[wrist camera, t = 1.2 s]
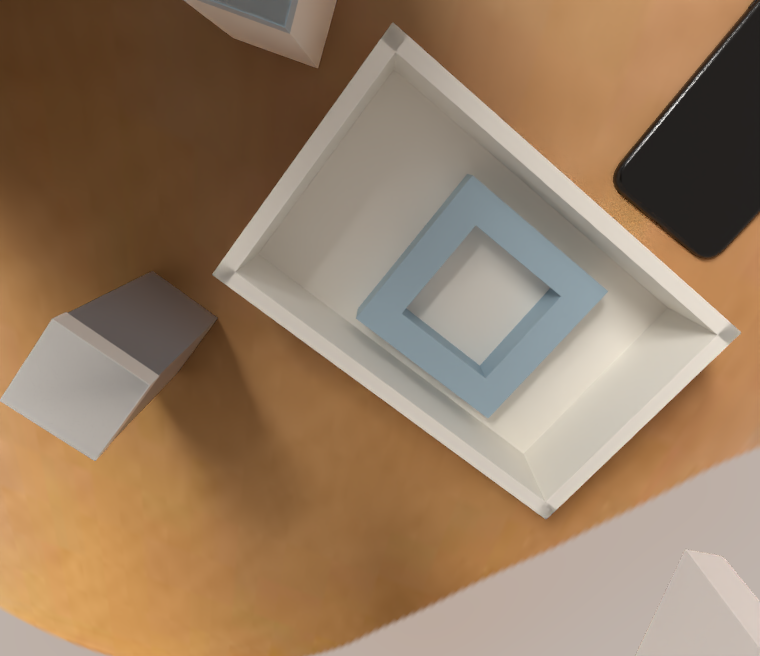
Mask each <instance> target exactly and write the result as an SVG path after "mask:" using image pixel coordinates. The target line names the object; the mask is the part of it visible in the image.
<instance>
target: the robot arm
mask: <svg viewBox="0 0 760 656" xmlns="http://www.w3.org/2000/svg"><path fill="white" fill-rule="evenodd" d="M635 656H760V601H759V600H758V598H757V597H756V596H755V595H754V594H753V592H752V591H751V590H750V589H749V588H748V586H747V585H746V584H745V583H744V581H743V580H742V579H741V578H740V577H739V575H738V574H737V573H736V572H735V570H734V569H733V568H732V567H731V566H730V565H729V563H728V562H727V561H726V560H725V558H724V557H723V556H720V555H714V554H709V553H703V552H698V551H693V550H687V549H685V550H684V553H683V555H682V557H681V559H680V561H679V563H678V566H677V568H676V570H675V572H674V574H673V576H672V578H671V580H670V583H669V585H668V587H667V589H666V591H665V593H664V595H663V597H662V599H661V602H660V604H659V606H658V608H657V610H656V612H655V614H654V617H653V619H652V621H651V623H650V625H649V627H648V629H647V631H646V633H645V636H644V638H643V640H642V642H641V644H640V646H639V648H638V650H637V653H636V655H635Z"/></svg>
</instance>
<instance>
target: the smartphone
mask: <svg viewBox="0 0 760 656" xmlns="http://www.w3.org/2000/svg"><path fill="white" fill-rule="evenodd" d="M613 183H614V186H615V188H616V189H617V191H618V192H619V193H620V194H621V195H622V196H623V197H625V198H626V199H627V200H628V201H629V202H631V203H632V204H633V205H634V206H636V207H637V208H638V209H639V210H640V211H642V212H643V213H644V214H645V215H646V216H648V217H649V218H650V219H651V220H654V221H655V222H657V223H658V224H659V225H660V226H661V227H662V229H663V230H664V231H666V232H667V233H668V234H669V235H670V236H672V237H673V238H675V240H677V241H678V242H679V243H681V245H683V246H684V247H685V248H687V250H690V252H691V253H692V254H694V255H696V256H698V257H701V258H711V257H714V256H716V255H718V254H719V253H721V252H722V251H723V250H724V249H725V248H726V247H727V246H728V245H729V244H730V243H731V242H732V241H733V240H734V239H735V238H736V237H737V235H738V234H739V233H740V232H741V231H742V230H743V229H744V228H745V227H746V226H747V225H748V224H749V223H750V222H751V220H752V219H753V218H754V217H755V216H756V215H757V214H758V213H759V212H760V0H754V1H753V2H752V3H751V4H750V6H749V7H748V9H747V10H746V11H745V13H744V14H743V15H742V16H741V17H740V19H739V20H738V21H737V22H736V23H735V25H734V26H733V27H732V28H731V29H730V31H729V32H728V33H727V34H726V35H725V37H724V38H723V39H722V40H721V41H720V43H719V44H718V45H717V46H716V47H715V49H714V50H713V51H712V52H711V53H710V55H709V56H708V57H707V58H706V59H705V61H704V62H703V63H702V64H701V65H700V67H699V68H698V69H697V70H696V71H695V73H694V74H693V75H692V76H691V77H690V79H689V80H688V81H687V82H686V83H685V85H684V86H683V87H682V88H681V90H680V91H679V92H678V93H677V94H676V96H675V97H674V98H673V99H672V100H671V102H670V103H669V104H668V105H667V106H666V108H665V109H664V110H663V111H662V112H661V114H660V115H659V116H658V117H657V118H656V120H655V121H654V122H653V123H652V124H651V126H650V127H649V128H648V129H647V130H646V132H645V133H644V134H643V135H642V136H641V138H640V139H639V140H638V141H637V142H636V144H635V145H634V146H633V147H632V149H631V150H630V151H629V152H628V153H627V155H626V156H625V157H624V158H623V159H622V161H621V162H620V163H619V165H618V166H617V168H616V170H615V172H614V176H613Z"/></svg>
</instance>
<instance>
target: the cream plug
mask: <svg viewBox="0 0 760 656" xmlns="http://www.w3.org/2000/svg"><path fill="white" fill-rule="evenodd" d="M184 1H185V2H186V3H188V4H189V5H190V6H192V7H193V8H194V9H195V10H197V11H198V12H199V13H201V14H202V15H203V16H205V17H206V18H207V19H209V20H210V21H211V22H213V23H214V24H215V25H217V26H218V27H219V28H220V29H222V30H223V31H224V32H226V33H227V34H228V35H230V36H231V37H232V38H234V39H237V40H240V41H242V42H245V43H248V44H251V45H253V46H256V47H259V48H262V49H265V50H267V51H270V52H273V53H276V54H278V55H281V56H284V57H287V58H290V59H292V60H295V61H298V62H301V63H303V64H306V65H309V66H312V67H315V68H317V69H318V67H319V64H320V60H321V56H322V53H323V49H324V45H325V42H326V38H327V34H328V31H329V27H330V24H331V20H332V16H333V13H334V9H335V5H336V2H337V0H184Z"/></svg>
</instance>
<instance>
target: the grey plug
mask: <svg viewBox="0 0 760 656" xmlns="http://www.w3.org/2000/svg"><path fill="white" fill-rule="evenodd" d="M216 320H217V317H216V316H215V315H213V314H212V313H210V312H209V311H208V310H206V309H205V308H203V307H202V306H201V305H199V304H198V303H196V302H195V301H194V300H192V299H191V298H189V297H188V296H187V295H185V294H184V293H183V292H181V291H180V290H178V289H177V288H176V287H174V286H173V285H171V284H170V283H169V282H167V281H166V280H164V279H163V278H162V277H160V276H159V275H157V274H156V273H155V272H153V271H151V272H149V273H147V274H145V275H143V276H141V277H139V278H137V279H135V280H133V281H131V282H129V283H127V284H125V285H123V286H121V287H119V288H117V289H115V290H113V291H111V292H109V293H107V294H105V295H103V296H101V297H99V298H97V299H95V300H93V301H91V302H89V303H87V304H85V305H83V306H81V307H79V308H77V309H75V310H73V311H71V312H69V313H67V312H65V313H63V314H61V315H59V316H57V317H55V318H53V319H52V320H51V321H50V323H49V324H48V326H47V328H46V329H45V331H44V332H43V334H42V335H41V337H40V338H39V340H38V342H37V343H36V345H35V346H34V348H33V349H32V351H31V352H30V354H29V356H28V357H27V359H26V360H25V362H24V363H23V365H22V366H21V368H20V370H19V371H18V373H17V374H16V376H15V377H14V379H13V380H12V382H11V384H10V385H9V387H8V388H7V390H6V391H5V393H4V394H3V396H2V398H1V399H0V401H1V402H2V403H4V404H6V405H7V406H9V407H10V408H12V409H13V410H15V411H17V412H18V413H20V414H21V415H23V416H24V417H26V418H28V419H29V420H31V421H32V422H34V423H36V424H37V425H39V426H40V427H42V428H43V429H45V430H47V431H48V432H50V433H51V434H53V435H54V436H56V437H58V438H59V439H61V440H62V441H64V442H65V443H67V444H69V445H70V446H72V447H73V448H75V449H76V450H78V451H80V452H81V453H83V454H84V455H86V456H88V457H89V458H91V459H92V460H94V461H96V460H97V459H98V458H99V457H100V455H101V454H102V453H103V452H104V451H105V450H106V449H107V448H108V446H109V445H110V444H111V442H112V441H113V440H114V439H115V438H116V437H117V436H118V435H119V434H120V433H121V432H122V431H123V430H124V428H125V427H126V426H127V425H128V424H129V423H130V422H131V421H132V420H133V419H134V418H135V417H136V416H137V415H138V414H139V413H140V412H141V411H142V410H143V409H144V408H145V406H146V405H147V404H148V403H149V402H150V401H151V400H152V399H153V398H154V397H155V396H156V395H157V394H158V393H159V392H160V391H161V390H162V389H163V388H164V387H165V386H166V384H167V383H168V382H169V381H170V380H171V379H172V378H173V377H174V376H175V375H176V374H177V373H178V371H179V370H180V369H181V367H182V366H183V365H184V363H185V362H186V361H187V359H188V358H189V356H190V355H191V354H192V352H193V351H194V350H195V348H196V347H197V346H198V344H199V343H200V342H201V340H202V339H203V337H204V336H205V335H206V333H207V332H208V331H209V329H210V328H211V327H212V325H213V324H214V323H215V321H216Z"/></svg>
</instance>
